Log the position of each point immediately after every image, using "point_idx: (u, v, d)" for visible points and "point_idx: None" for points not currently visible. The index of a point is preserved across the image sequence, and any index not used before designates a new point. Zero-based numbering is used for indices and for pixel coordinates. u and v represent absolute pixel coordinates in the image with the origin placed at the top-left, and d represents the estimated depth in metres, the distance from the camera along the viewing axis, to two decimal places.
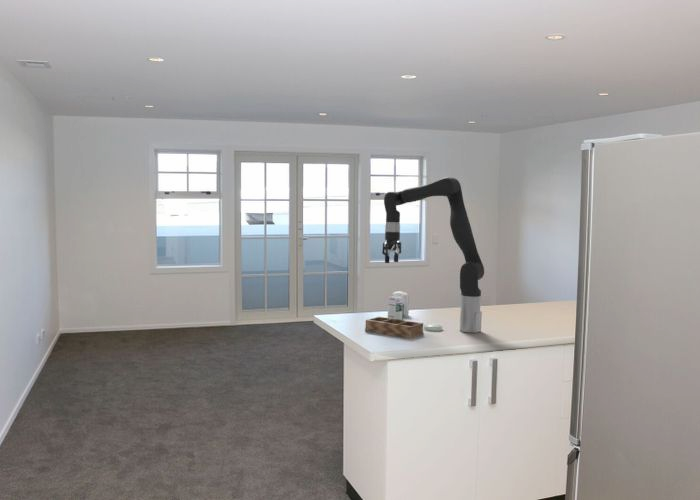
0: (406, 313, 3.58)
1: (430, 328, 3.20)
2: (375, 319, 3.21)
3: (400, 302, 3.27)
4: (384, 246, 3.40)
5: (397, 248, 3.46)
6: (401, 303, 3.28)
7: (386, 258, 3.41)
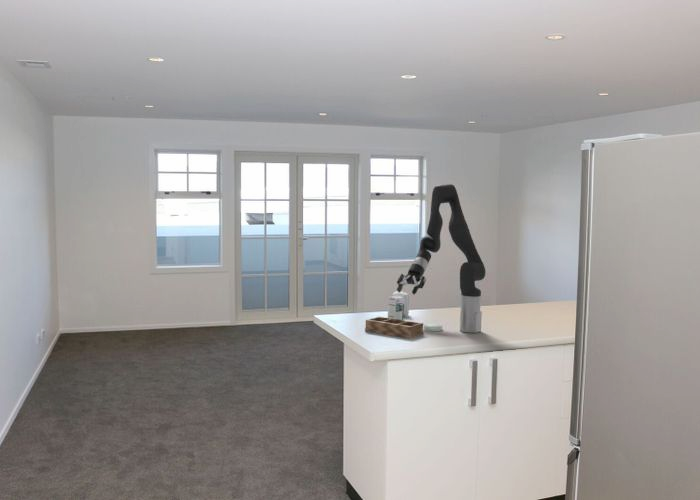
0: (406, 313, 3.58)
1: (430, 328, 3.20)
2: (375, 319, 3.21)
3: (400, 302, 3.27)
4: None
5: (414, 279, 3.37)
6: (401, 303, 3.28)
7: None
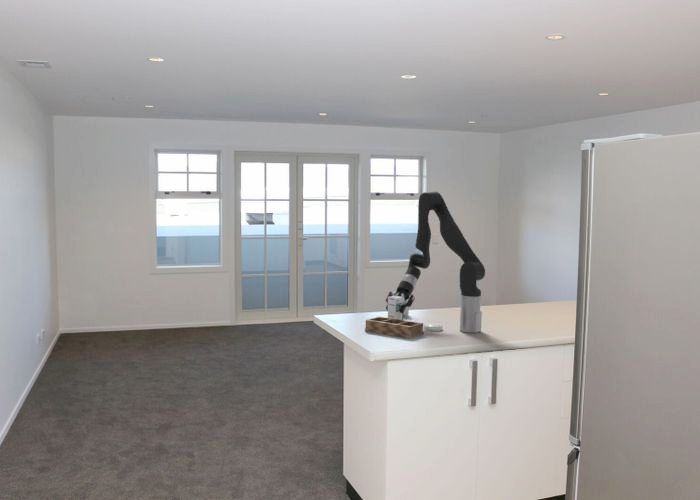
0: (406, 313, 3.58)
1: (430, 328, 3.20)
2: (375, 319, 3.21)
3: (400, 302, 3.27)
4: None
5: None
6: (401, 303, 3.28)
7: None
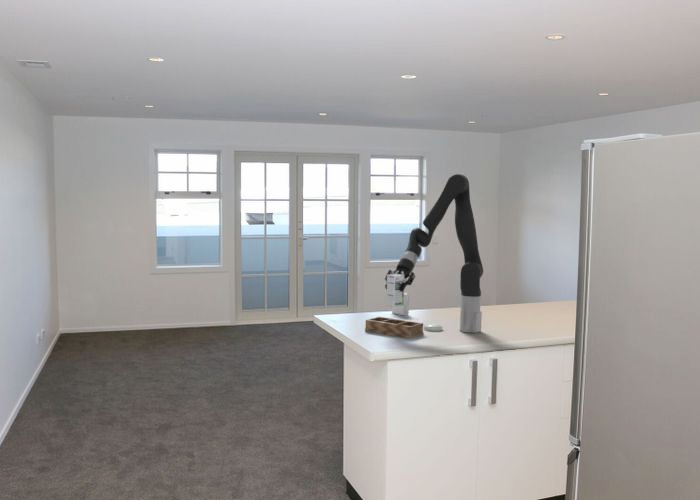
0: (406, 313, 3.58)
1: (430, 328, 3.20)
2: (375, 319, 3.21)
3: (399, 280, 3.11)
4: None
5: None
6: (400, 281, 3.11)
7: None
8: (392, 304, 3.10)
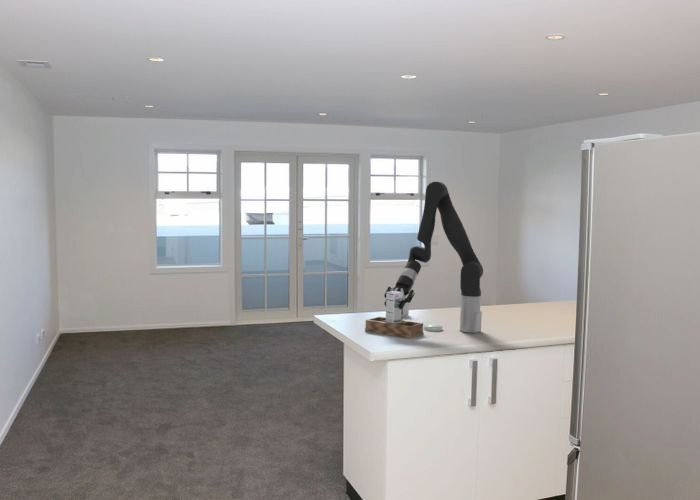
0: (406, 313, 3.58)
1: (430, 328, 3.20)
2: (375, 319, 3.21)
3: (399, 297, 3.11)
4: None
5: None
6: (400, 299, 3.11)
7: None
8: (391, 321, 3.11)
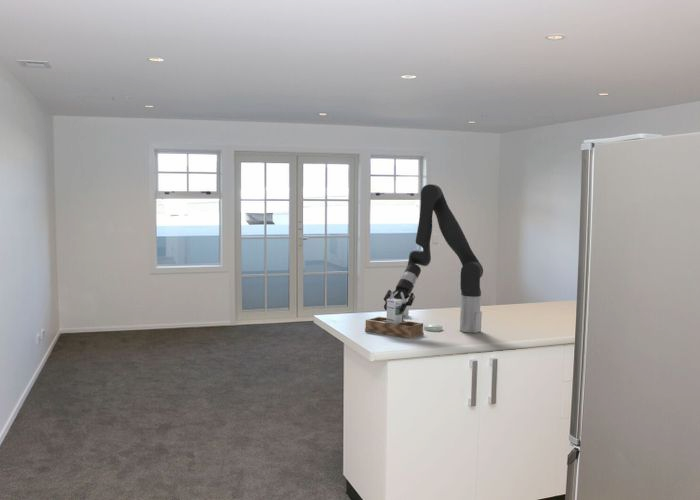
0: (406, 313, 3.58)
1: (430, 328, 3.20)
2: (375, 319, 3.21)
3: (399, 304, 3.11)
4: None
5: (402, 296, 3.13)
6: (400, 306, 3.12)
7: None
8: None
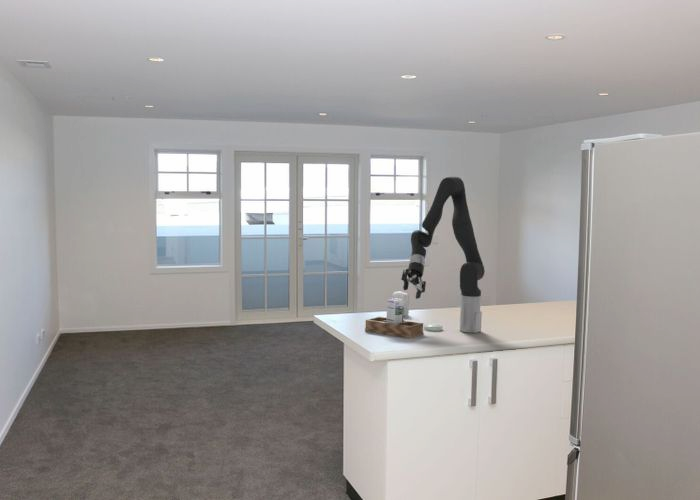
0: (406, 313, 3.58)
1: (430, 328, 3.20)
2: (375, 319, 3.21)
3: (399, 305, 3.11)
4: (404, 272, 3.23)
5: (419, 282, 3.25)
6: (400, 306, 3.12)
7: (405, 284, 3.20)
8: None
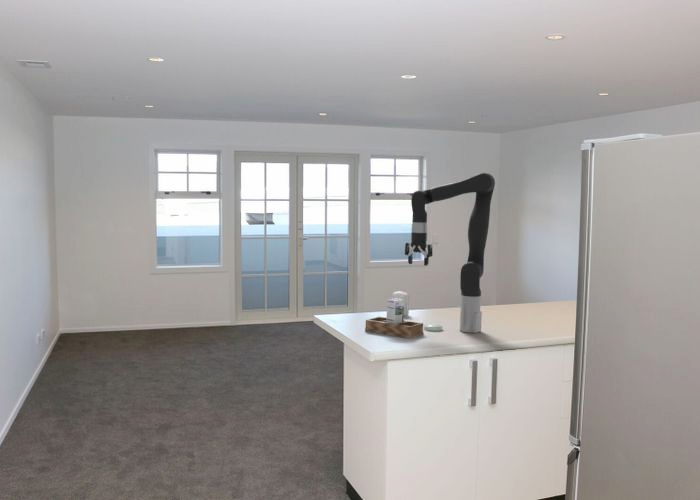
0: (406, 313, 3.58)
1: (430, 328, 3.20)
2: (375, 319, 3.21)
3: (399, 305, 3.11)
4: (430, 248, 3.25)
5: None
6: (400, 306, 3.12)
7: (427, 260, 3.27)
8: None
